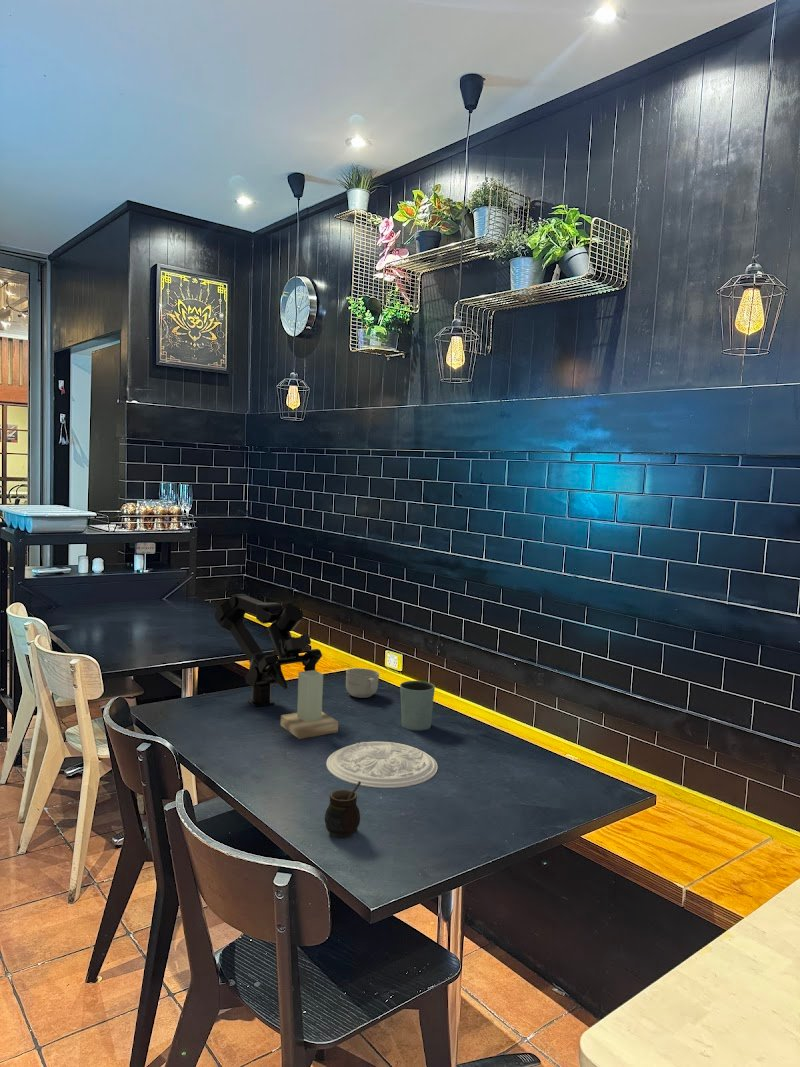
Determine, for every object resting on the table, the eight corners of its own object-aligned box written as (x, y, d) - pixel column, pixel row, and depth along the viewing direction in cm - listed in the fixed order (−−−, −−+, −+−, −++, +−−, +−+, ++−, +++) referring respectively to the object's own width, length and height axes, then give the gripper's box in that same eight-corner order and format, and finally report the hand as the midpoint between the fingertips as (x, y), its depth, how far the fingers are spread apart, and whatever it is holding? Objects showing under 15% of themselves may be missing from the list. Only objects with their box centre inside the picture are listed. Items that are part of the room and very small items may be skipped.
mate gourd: (316, 831, 155) (318, 784, 154) (344, 820, 161) (346, 774, 160) (339, 844, 150) (341, 796, 149) (367, 832, 155) (369, 785, 155)
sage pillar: (297, 717, 214) (298, 672, 213) (312, 714, 217) (313, 670, 216) (306, 722, 210) (307, 676, 209) (321, 719, 214) (323, 674, 212)
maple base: (280, 725, 216) (280, 715, 216) (318, 719, 222) (318, 709, 222) (299, 739, 206) (299, 728, 206) (337, 732, 213) (338, 721, 212)
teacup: (341, 691, 251) (342, 667, 250) (373, 689, 254) (374, 666, 254) (351, 704, 238) (352, 679, 237) (385, 702, 241) (386, 678, 240)
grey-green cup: (433, 732, 216) (435, 691, 215) (397, 730, 216) (399, 689, 215) (432, 720, 226) (434, 681, 225) (398, 718, 226) (400, 679, 225)
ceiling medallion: (427, 796, 175) (428, 783, 175) (311, 781, 180) (312, 768, 180) (444, 752, 202) (445, 741, 202) (343, 740, 208) (344, 729, 207)
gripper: (264, 628, 214) (282, 676, 207) (320, 622, 226) (339, 667, 218) (250, 649, 221) (267, 696, 214) (305, 642, 233) (323, 686, 225)
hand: (300, 686), depth 217 cm, fingers open, 9 cm apart
